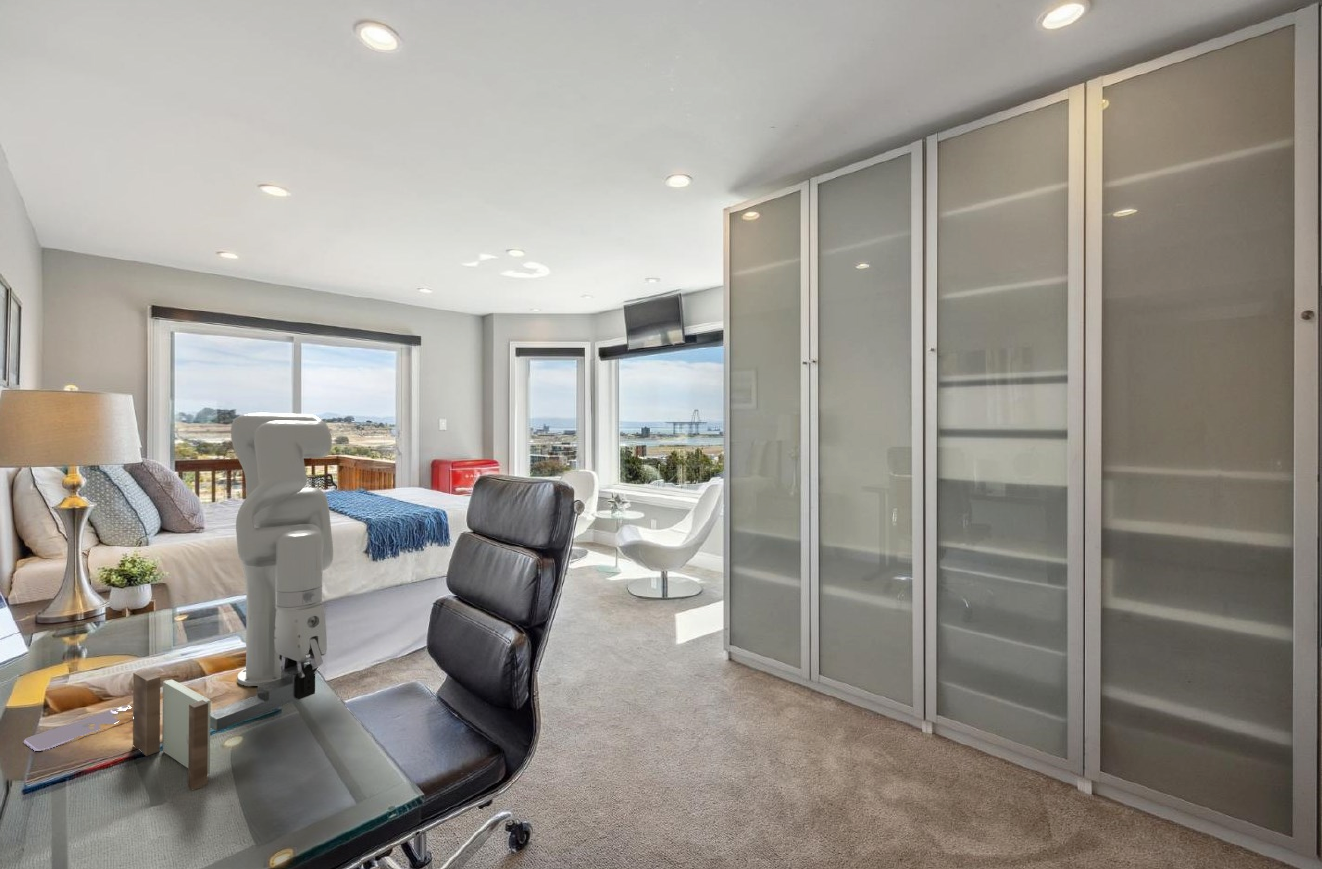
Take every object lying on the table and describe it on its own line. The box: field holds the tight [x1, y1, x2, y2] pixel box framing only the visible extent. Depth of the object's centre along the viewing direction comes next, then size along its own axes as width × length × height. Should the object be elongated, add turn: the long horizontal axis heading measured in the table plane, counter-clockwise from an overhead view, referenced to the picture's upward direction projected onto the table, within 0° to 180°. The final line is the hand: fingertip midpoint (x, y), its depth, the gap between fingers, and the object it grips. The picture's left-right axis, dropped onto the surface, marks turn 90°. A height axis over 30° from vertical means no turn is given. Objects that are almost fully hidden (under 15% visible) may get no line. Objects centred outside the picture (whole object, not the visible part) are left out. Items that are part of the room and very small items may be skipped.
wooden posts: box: [132, 668, 208, 791], centre depth 96 cm, size 23×2×13 cm, turn 60°
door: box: [161, 679, 211, 776], centre depth 96 cm, size 15×2×12 cm, turn 60°
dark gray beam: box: [210, 663, 316, 732], centre depth 104 cm, size 16×4×5 cm, turn 150°
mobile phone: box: [23, 704, 132, 752], centre depth 107 cm, size 8×1×15 cm
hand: (298, 692), depth 109 cm, fingers closed on dark gray beam, 4 cm apart
